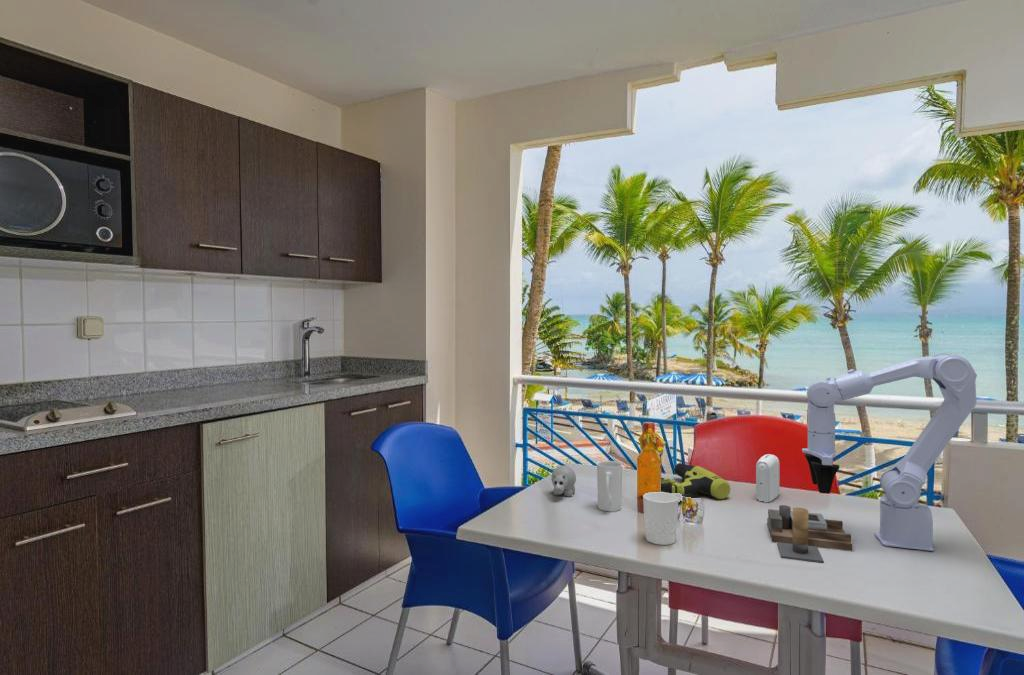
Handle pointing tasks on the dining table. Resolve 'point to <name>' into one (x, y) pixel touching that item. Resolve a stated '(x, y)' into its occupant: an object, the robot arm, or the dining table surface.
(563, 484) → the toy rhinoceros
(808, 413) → the robot arm
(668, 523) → the white cup
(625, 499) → the dining table surface
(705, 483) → the cordless drill
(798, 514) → the wooden square peg
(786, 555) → the pad
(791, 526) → the grey square frame
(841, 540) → the chuck base
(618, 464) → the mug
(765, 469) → the photo printer
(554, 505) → the dining table surface
